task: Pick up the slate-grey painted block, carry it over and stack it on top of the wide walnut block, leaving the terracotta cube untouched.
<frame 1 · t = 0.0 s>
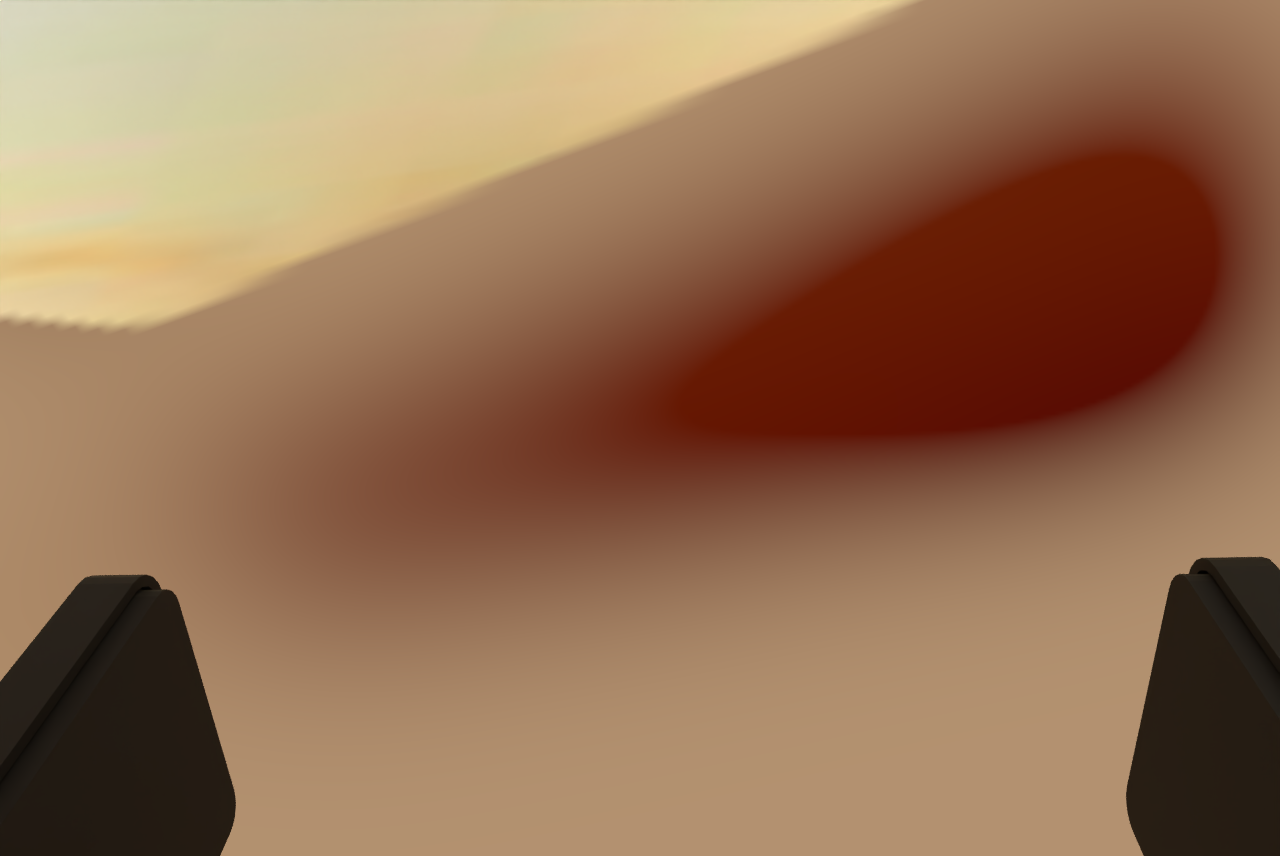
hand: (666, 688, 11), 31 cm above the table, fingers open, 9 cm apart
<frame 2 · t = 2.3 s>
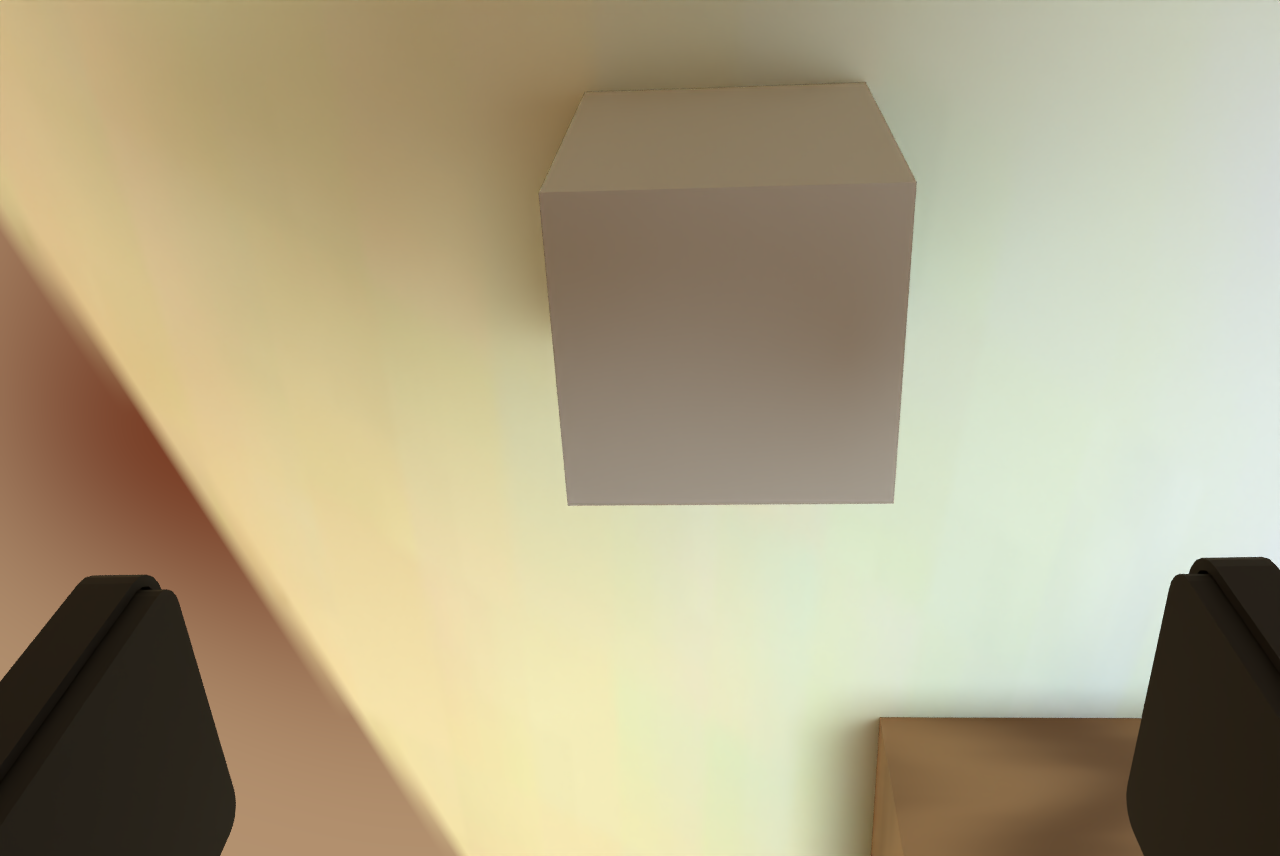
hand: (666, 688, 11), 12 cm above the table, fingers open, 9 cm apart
grey block: (725, 221, 21), on the table
walnut block: (1029, 829, 29), on the table
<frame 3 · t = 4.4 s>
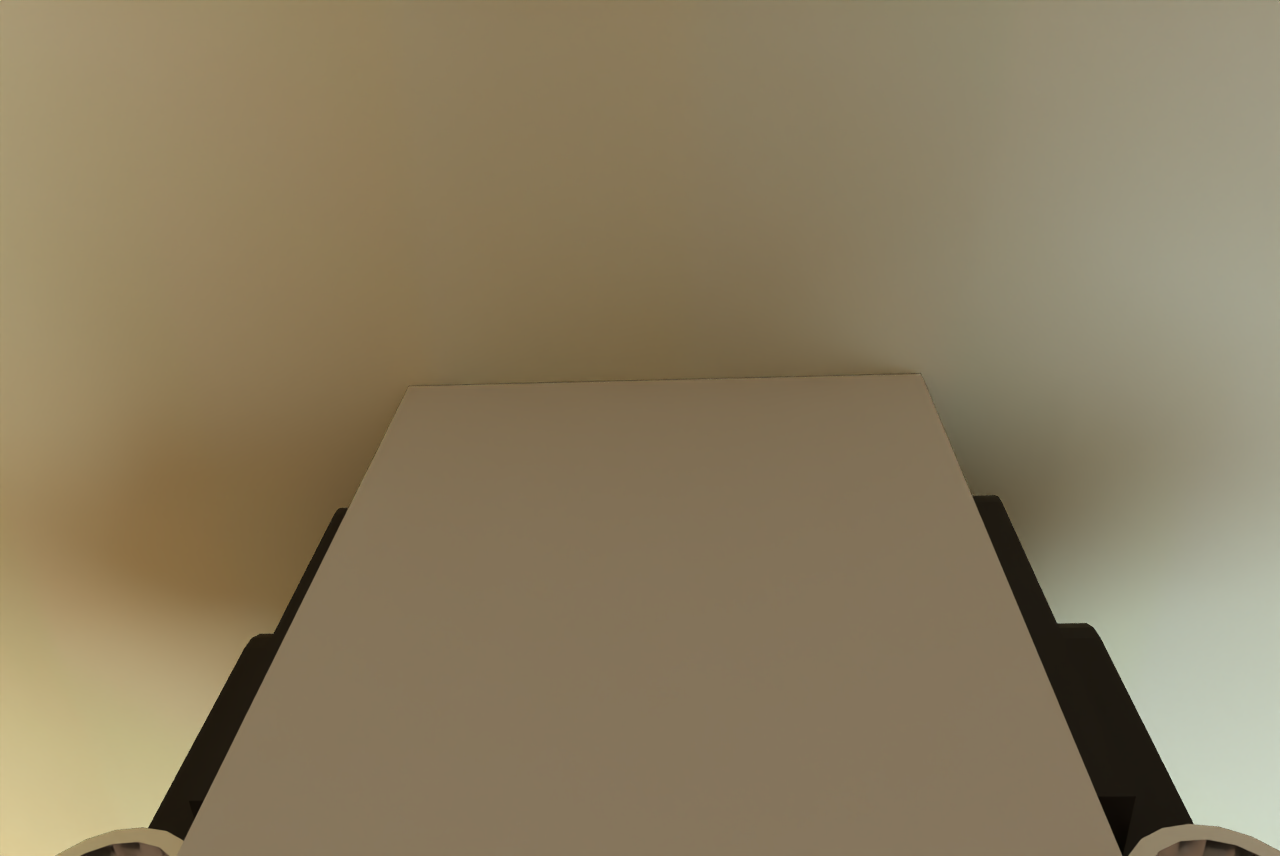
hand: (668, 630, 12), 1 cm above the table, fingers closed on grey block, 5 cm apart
grey block: (670, 588, 12), on the table, touching gripper
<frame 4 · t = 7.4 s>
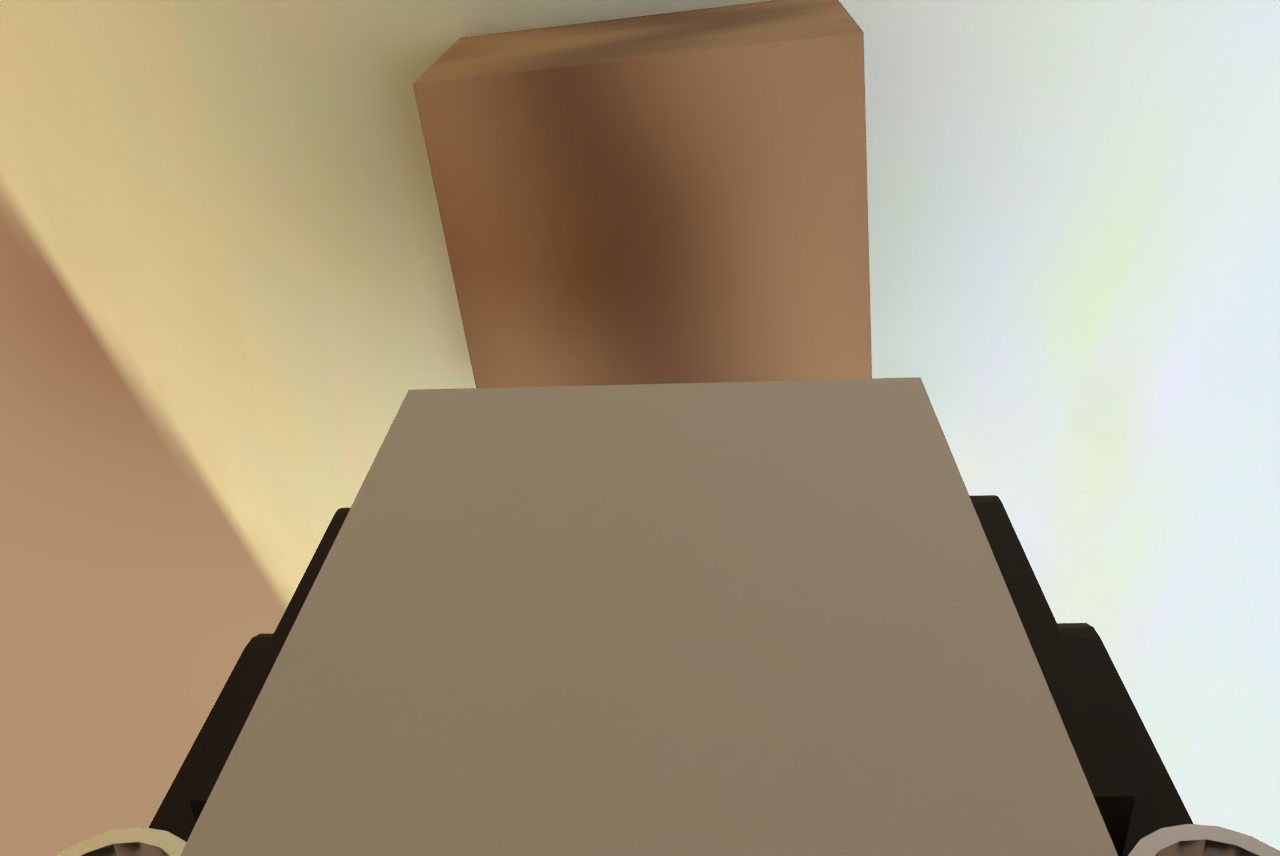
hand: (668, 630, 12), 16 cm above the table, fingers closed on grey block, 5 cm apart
grey block: (669, 591, 12), point 15 cm above the table, touching gripper
walnut block: (664, 195, 26), on the table
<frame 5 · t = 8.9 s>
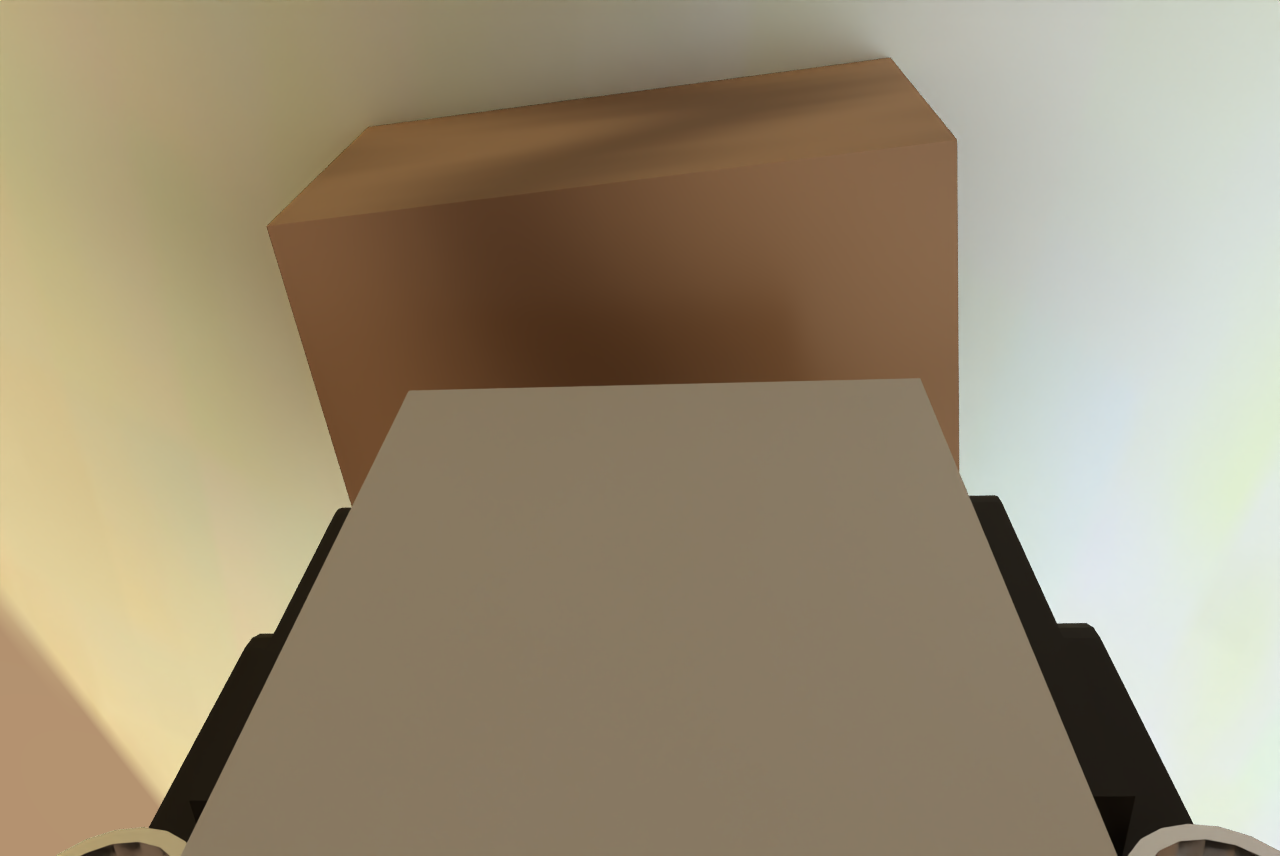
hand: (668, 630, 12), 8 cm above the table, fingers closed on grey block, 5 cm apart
grey block: (669, 592, 12), point 8 cm above the table, touching gripper
walnut block: (657, 328, 19), on the table
when the fingers open (6 cm above the table, at t = 10.3 s): grey block stays where it is, resting on walnut block.
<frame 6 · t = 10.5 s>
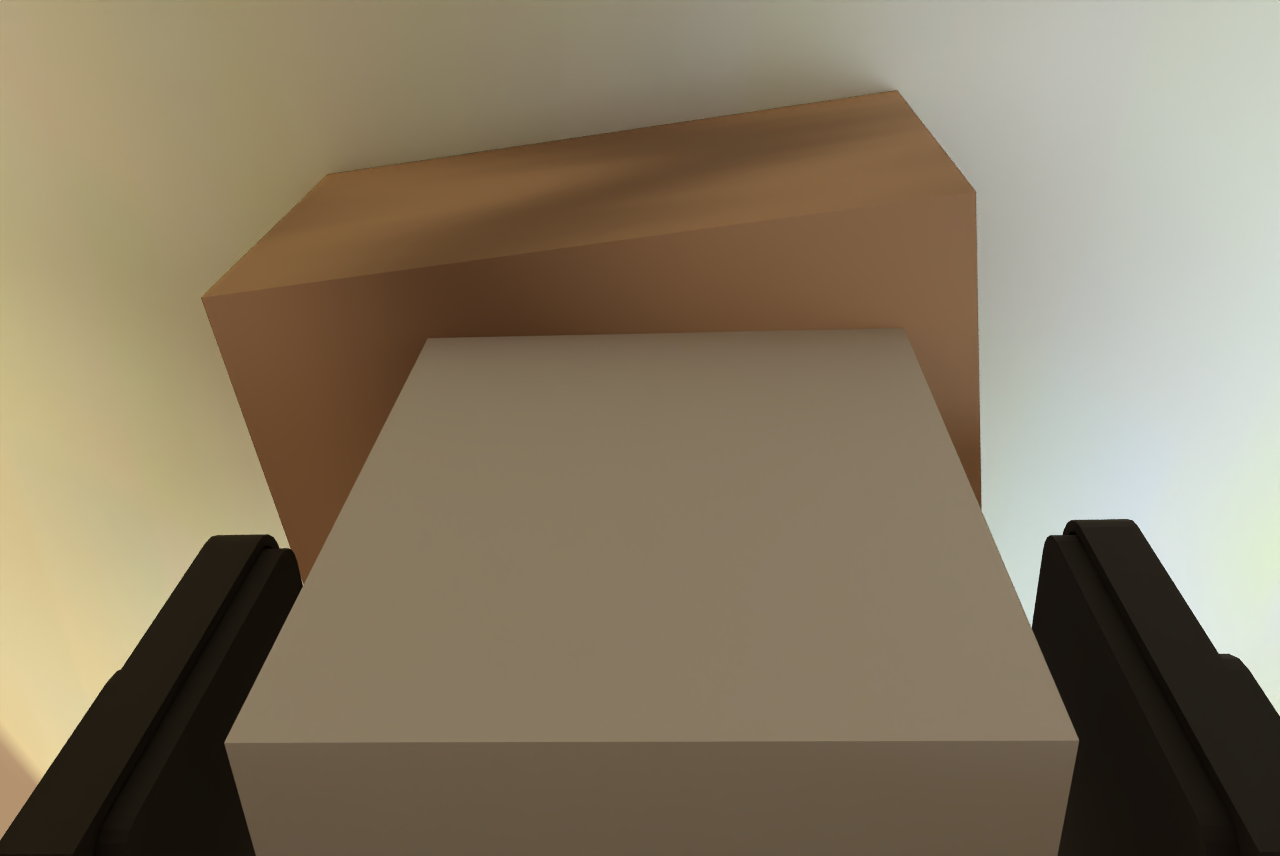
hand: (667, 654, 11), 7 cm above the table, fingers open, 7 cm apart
grey block: (669, 532, 13), point 5 cm above the table, touching walnut block
walnut block: (648, 383, 18), on the table, touching grey block
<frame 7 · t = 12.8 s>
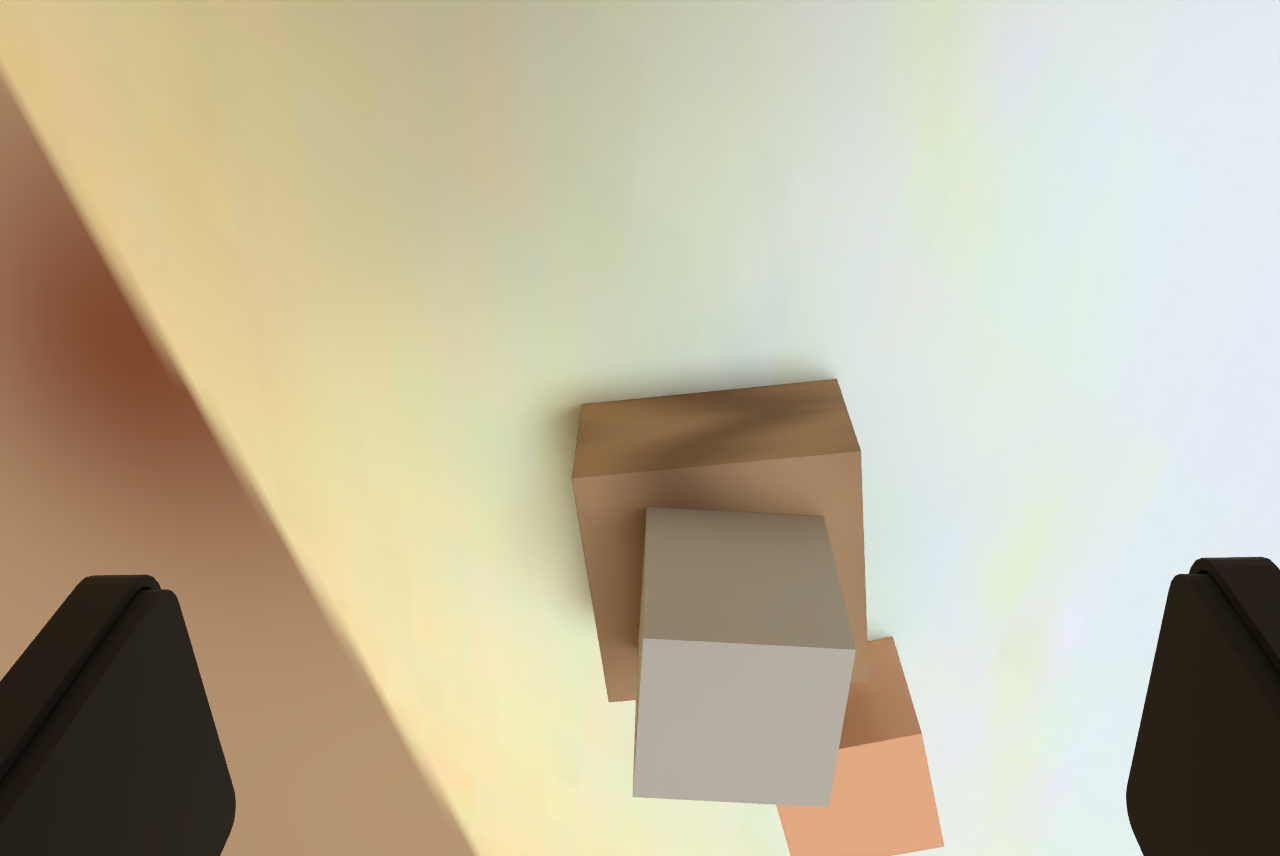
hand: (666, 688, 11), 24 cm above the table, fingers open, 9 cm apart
terracotta cube: (834, 702, 41), on the table
grey block: (727, 585, 33), point 5 cm above the table
walnut block: (719, 497, 38), on the table
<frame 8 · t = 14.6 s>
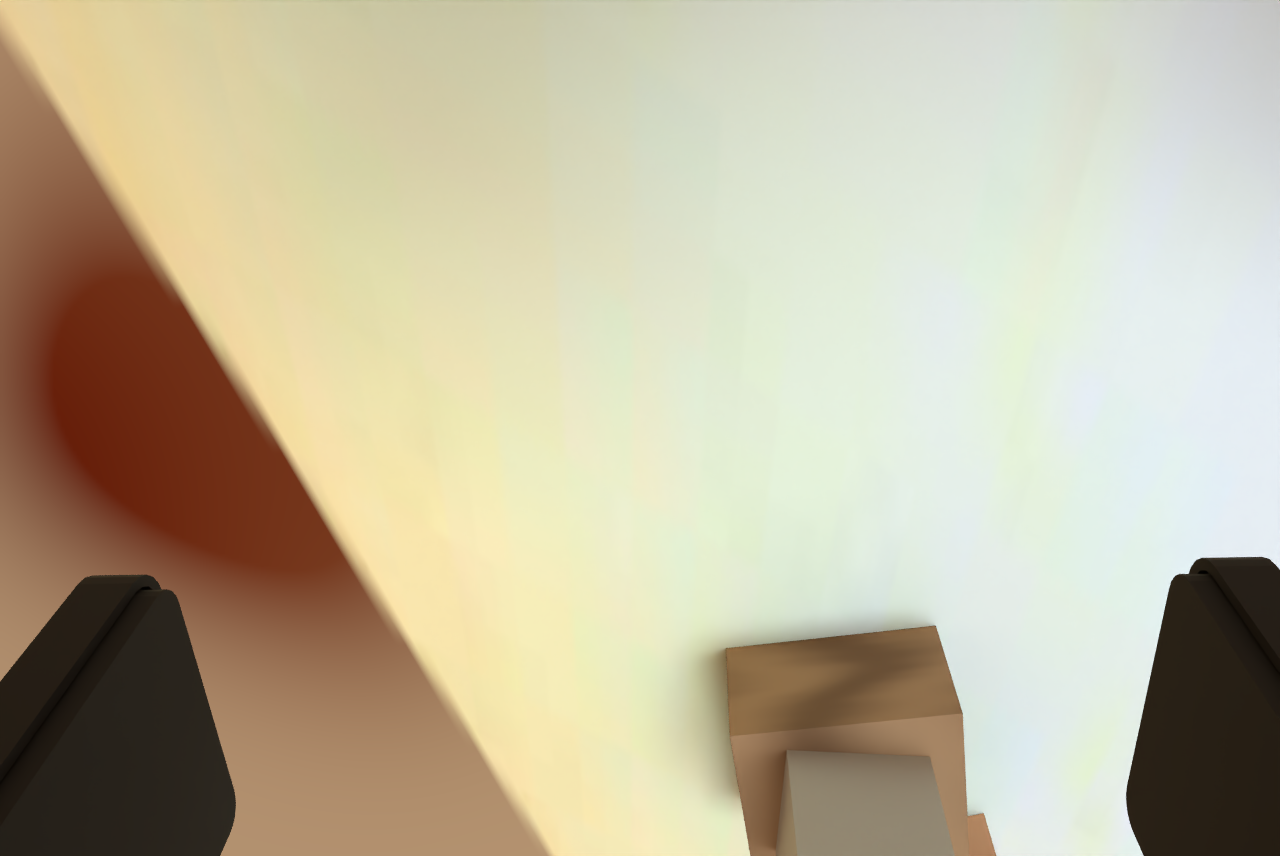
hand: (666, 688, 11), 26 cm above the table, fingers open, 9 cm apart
grey block: (850, 804, 41), point 5 cm above the table, touching walnut block
walnut block: (838, 712, 45), on the table, touching grey block
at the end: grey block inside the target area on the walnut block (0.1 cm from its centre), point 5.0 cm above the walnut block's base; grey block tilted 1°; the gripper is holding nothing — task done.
